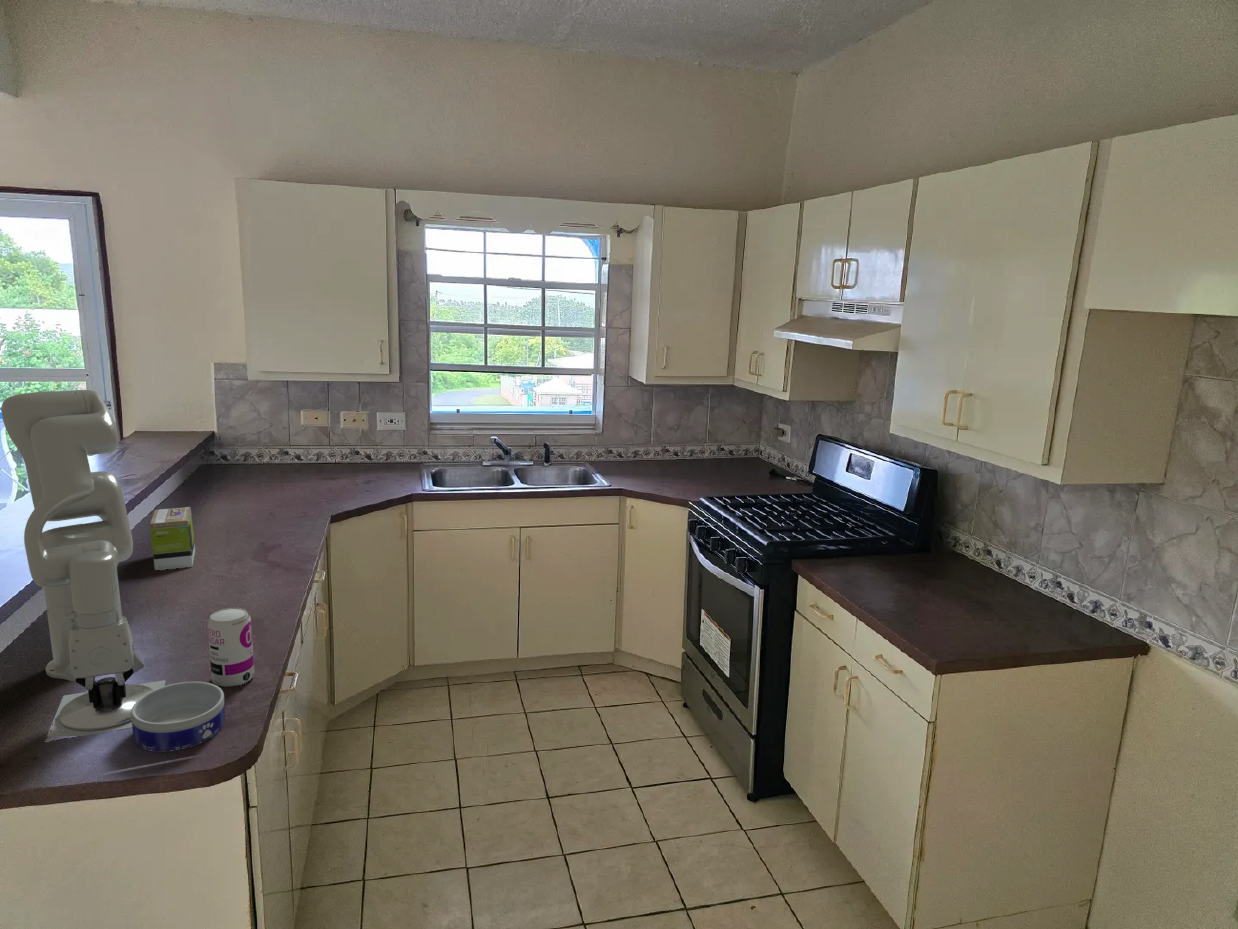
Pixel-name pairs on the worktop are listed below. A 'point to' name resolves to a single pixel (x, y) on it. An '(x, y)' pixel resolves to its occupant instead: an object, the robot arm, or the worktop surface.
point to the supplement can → (230, 647)
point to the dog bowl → (178, 716)
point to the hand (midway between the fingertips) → (108, 702)
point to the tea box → (172, 538)
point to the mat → (69, 732)
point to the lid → (101, 707)
